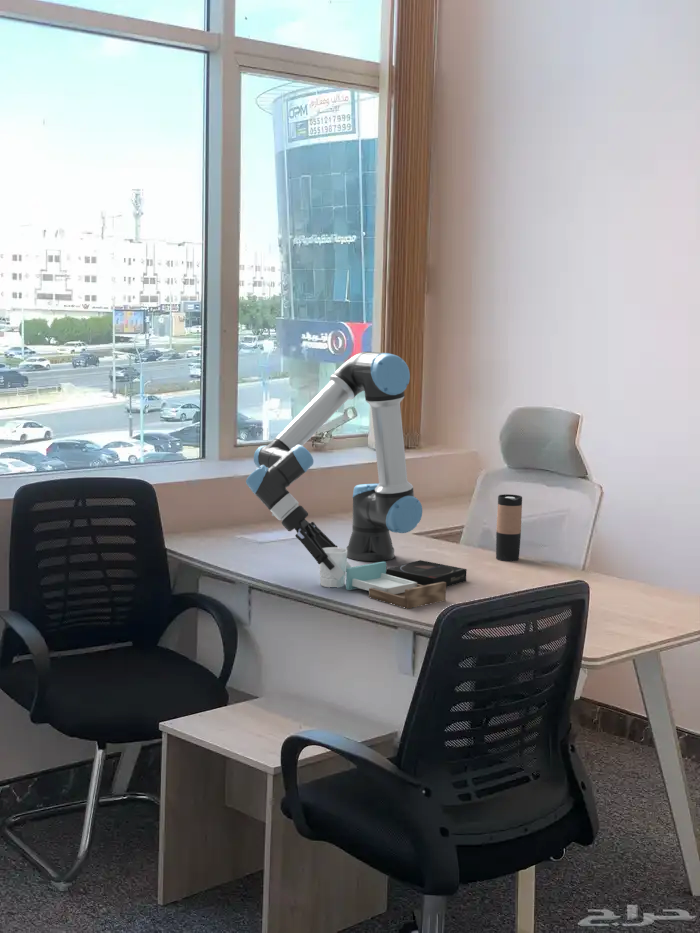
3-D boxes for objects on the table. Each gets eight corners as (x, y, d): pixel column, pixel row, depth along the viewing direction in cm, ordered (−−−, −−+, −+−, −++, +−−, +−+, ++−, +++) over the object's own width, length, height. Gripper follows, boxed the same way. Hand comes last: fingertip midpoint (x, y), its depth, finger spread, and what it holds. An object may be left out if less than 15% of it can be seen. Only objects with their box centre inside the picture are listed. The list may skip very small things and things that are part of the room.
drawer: (406, 589, 324) (407, 572, 324) (445, 600, 314) (446, 582, 313) (368, 597, 315) (369, 579, 314) (407, 608, 304) (408, 590, 303)
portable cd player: (418, 572, 347) (418, 559, 347) (466, 582, 336) (466, 569, 336) (384, 582, 334) (384, 568, 334) (433, 592, 324) (433, 578, 323)
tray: (382, 582, 331) (383, 561, 330) (419, 592, 320) (420, 571, 319) (346, 589, 322) (346, 568, 321) (382, 600, 311) (383, 578, 310)
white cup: (314, 582, 330) (315, 547, 328) (340, 580, 333) (341, 546, 331) (323, 589, 323) (324, 553, 321) (350, 587, 325) (351, 552, 324)
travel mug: (501, 555, 372) (503, 493, 369) (523, 558, 368) (526, 496, 366) (491, 559, 366) (493, 496, 363) (513, 562, 362) (516, 499, 359)
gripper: (290, 515, 338) (343, 573, 337) (270, 528, 318) (326, 590, 317) (308, 498, 336) (361, 557, 335) (289, 510, 316) (346, 572, 315)
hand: (344, 573), depth 326 cm, fingers closed on white cup, 8 cm apart
